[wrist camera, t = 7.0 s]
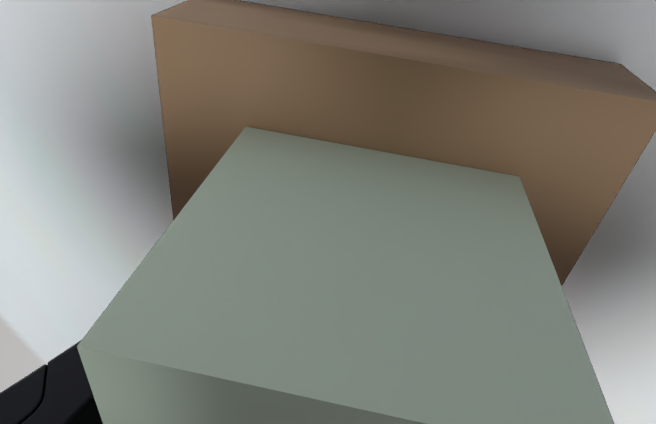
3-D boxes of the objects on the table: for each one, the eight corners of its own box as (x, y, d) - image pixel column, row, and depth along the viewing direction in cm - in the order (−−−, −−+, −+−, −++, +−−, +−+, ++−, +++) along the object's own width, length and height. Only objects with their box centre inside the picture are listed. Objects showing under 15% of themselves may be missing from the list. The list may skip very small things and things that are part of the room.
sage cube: (443, 352, 13) (460, 623, 8) (243, 310, 13) (143, 544, 8) (519, 176, 9) (631, 468, 5) (245, 126, 10) (76, 346, 5)
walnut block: (481, 340, 16) (490, 404, 14) (214, 284, 17) (186, 337, 15) (620, 63, 10) (671, 103, 8) (201, -6, 11) (151, 15, 9)
